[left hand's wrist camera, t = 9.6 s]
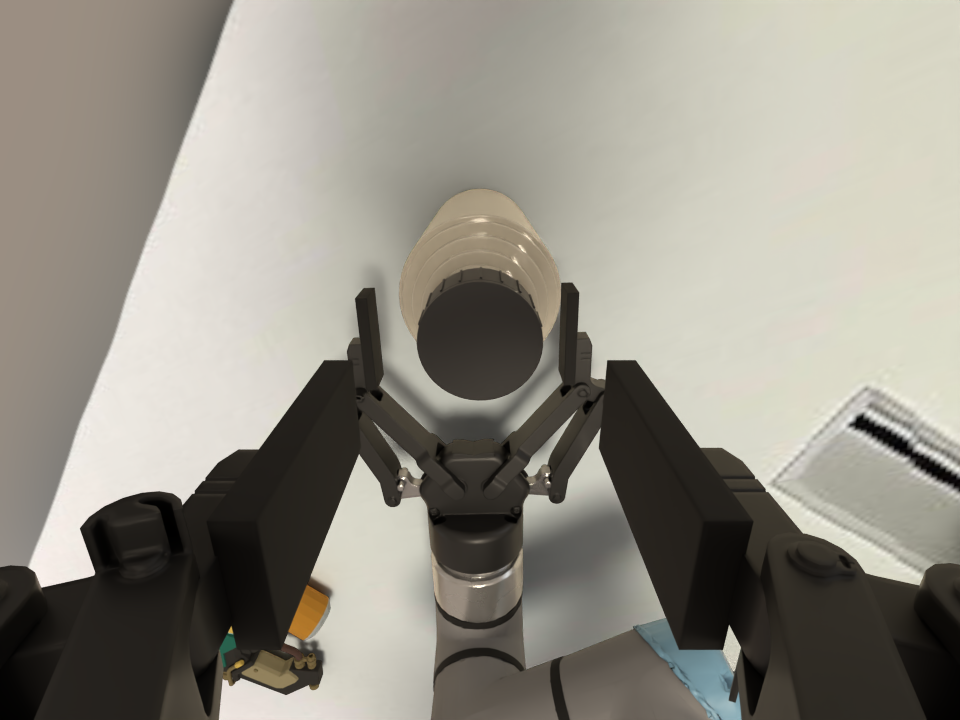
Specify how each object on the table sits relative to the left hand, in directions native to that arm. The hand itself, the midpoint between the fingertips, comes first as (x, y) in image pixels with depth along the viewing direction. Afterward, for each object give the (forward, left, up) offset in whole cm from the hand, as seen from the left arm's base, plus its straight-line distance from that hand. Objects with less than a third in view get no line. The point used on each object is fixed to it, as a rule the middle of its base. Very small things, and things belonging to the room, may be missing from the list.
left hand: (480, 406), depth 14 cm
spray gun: (+44, 0, -28) cm, 52 cm away
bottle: (0, 0, -28) cm, 28 cm away
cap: (0, 0, -5) cm, 5 cm away
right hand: (+2, 0, -21) cm, 21 cm away
